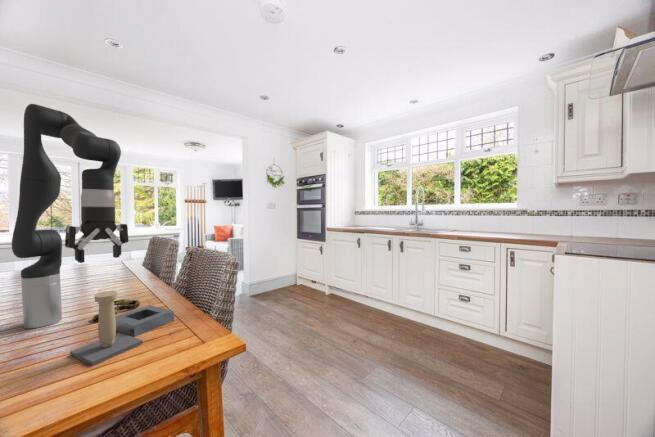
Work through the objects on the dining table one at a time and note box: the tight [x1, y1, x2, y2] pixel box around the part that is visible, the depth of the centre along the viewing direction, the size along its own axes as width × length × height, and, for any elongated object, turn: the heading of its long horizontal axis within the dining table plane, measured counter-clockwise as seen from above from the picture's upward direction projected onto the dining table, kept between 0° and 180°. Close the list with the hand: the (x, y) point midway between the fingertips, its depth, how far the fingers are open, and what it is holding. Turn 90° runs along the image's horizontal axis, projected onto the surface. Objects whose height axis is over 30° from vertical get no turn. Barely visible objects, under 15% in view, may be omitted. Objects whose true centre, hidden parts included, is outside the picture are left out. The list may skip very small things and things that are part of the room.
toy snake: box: [92, 298, 141, 322], centre depth 102 cm, size 18×5×10 cm
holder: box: [115, 304, 175, 338], centre depth 90 cm, size 14×13×4 cm
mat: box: [69, 332, 144, 366], centre depth 74 cm, size 12×12×1 cm
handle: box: [94, 290, 119, 348], centre depth 74 cm, size 5×6×15 cm
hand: (99, 259), depth 77 cm, fingers open, 8 cm apart
